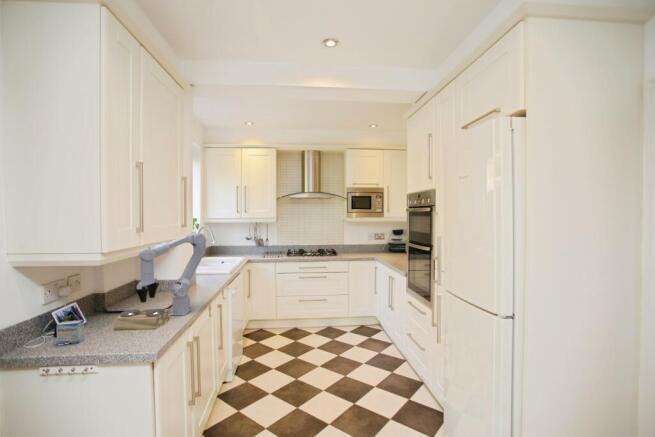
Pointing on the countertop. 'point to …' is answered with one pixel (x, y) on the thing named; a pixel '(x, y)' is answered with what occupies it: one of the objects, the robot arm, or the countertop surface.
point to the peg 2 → (155, 312)
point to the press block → (141, 321)
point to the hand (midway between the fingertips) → (147, 299)
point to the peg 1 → (130, 313)
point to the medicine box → (70, 332)
